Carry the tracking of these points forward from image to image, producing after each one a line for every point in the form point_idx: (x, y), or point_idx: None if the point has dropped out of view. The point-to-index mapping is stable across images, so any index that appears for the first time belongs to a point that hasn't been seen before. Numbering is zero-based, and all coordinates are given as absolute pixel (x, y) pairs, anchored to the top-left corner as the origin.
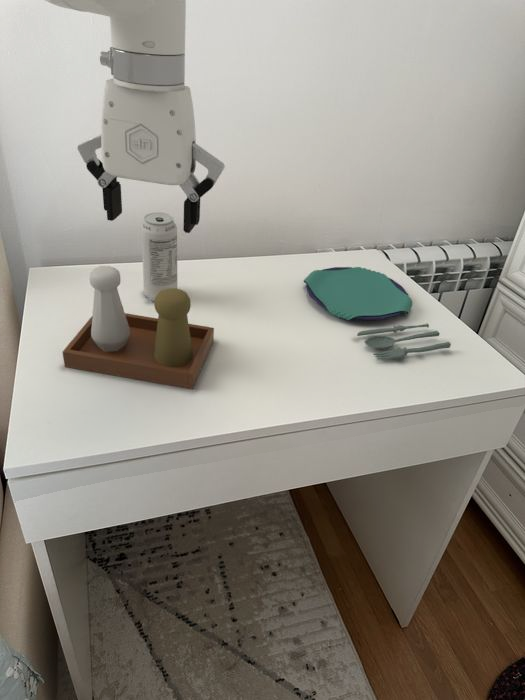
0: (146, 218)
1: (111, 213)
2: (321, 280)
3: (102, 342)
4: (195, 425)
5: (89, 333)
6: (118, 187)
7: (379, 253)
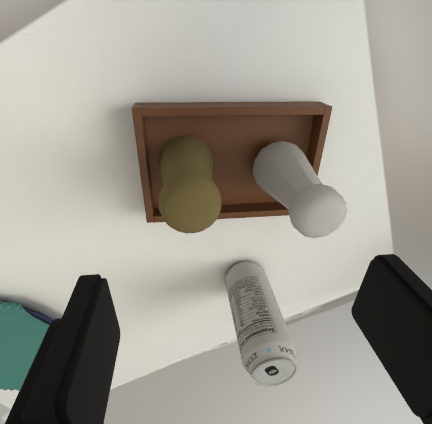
0: (292, 366)
1: (394, 274)
2: None
3: (283, 141)
4: (97, 16)
5: None
6: (421, 396)
7: None
